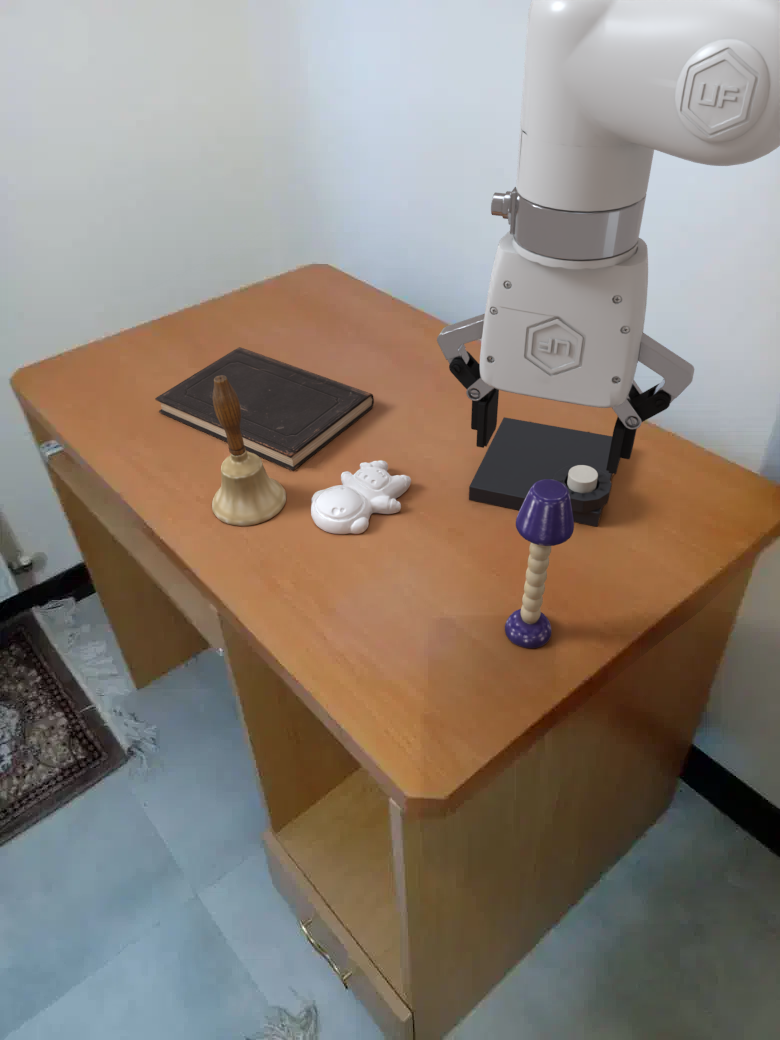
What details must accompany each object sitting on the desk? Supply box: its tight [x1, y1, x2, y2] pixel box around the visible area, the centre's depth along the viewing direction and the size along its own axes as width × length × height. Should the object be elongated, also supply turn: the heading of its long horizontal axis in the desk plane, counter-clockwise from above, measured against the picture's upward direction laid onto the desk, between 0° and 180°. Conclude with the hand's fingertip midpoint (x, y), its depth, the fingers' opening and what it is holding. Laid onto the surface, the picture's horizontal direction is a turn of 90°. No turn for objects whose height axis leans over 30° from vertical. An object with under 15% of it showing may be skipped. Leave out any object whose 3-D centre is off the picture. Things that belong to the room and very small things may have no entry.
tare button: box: [567, 465, 598, 493], centre depth 82 cm, size 3×3×2 cm
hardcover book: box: [154, 346, 375, 472], centre depth 101 cm, size 16×23×2 cm
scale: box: [468, 416, 614, 528], centre depth 88 cm, size 14×14×4 cm
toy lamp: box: [504, 479, 575, 649], centre depth 67 cm, size 5×5×17 cm
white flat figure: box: [310, 459, 412, 535], centre depth 86 cm, size 9×12×3 cm
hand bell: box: [211, 375, 287, 527], centre depth 83 cm, size 8×8×16 cm
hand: (548, 449), depth 59 cm, fingers open, 9 cm apart
